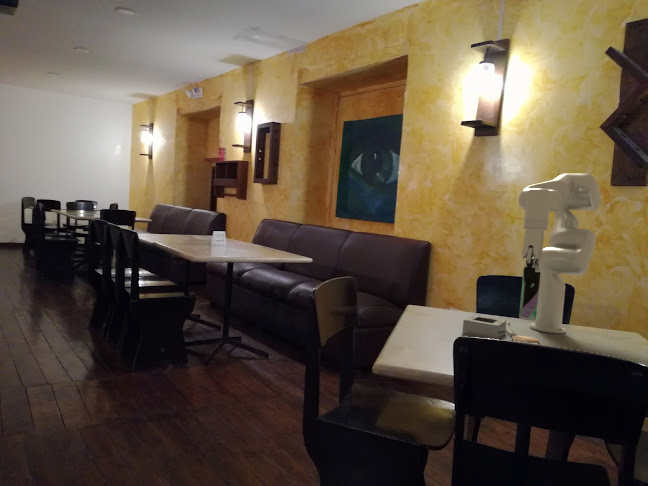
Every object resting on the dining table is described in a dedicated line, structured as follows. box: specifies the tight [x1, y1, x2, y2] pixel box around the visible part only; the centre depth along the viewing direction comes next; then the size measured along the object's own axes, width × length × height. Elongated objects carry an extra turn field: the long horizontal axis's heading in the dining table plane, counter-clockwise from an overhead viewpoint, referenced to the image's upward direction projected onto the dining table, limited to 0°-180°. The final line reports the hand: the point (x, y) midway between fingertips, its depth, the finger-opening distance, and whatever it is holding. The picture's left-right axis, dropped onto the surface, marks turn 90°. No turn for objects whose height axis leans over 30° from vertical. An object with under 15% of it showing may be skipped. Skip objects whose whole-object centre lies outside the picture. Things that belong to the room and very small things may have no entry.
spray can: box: [518, 261, 541, 322], centre depth 171 cm, size 6×6×20 cm
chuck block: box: [462, 314, 507, 340], centre depth 180 cm, size 12×12×5 cm
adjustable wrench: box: [501, 318, 518, 336], centre depth 190 cm, size 25×6×2 cm, turn 167°
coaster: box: [511, 335, 541, 344], centre depth 173 cm, size 9×9×1 cm
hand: (530, 278), depth 171 cm, fingers closed on spray can, 5 cm apart
